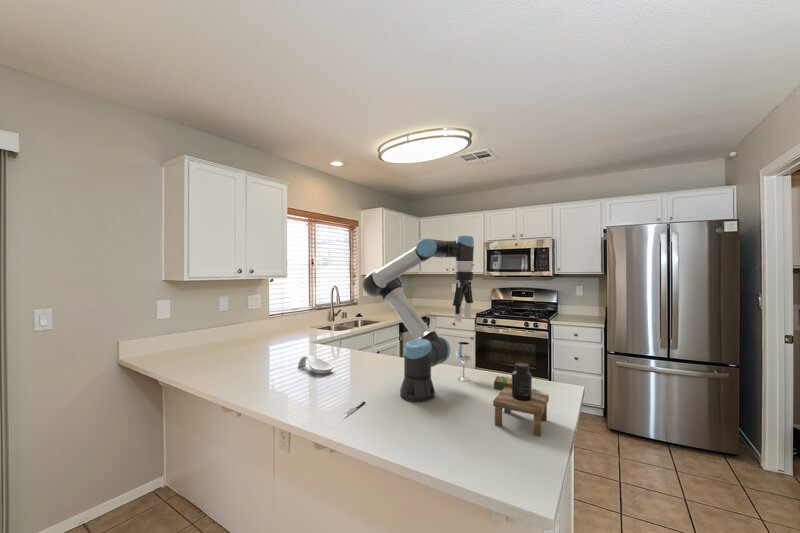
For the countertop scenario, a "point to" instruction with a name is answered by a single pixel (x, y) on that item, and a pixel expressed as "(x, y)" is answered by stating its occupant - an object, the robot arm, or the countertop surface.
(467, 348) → the wineglass
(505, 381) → the carton
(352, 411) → the chef's knife
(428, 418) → the countertop surface
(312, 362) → the spoon rest
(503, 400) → the footstool
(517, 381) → the supplement bottle
